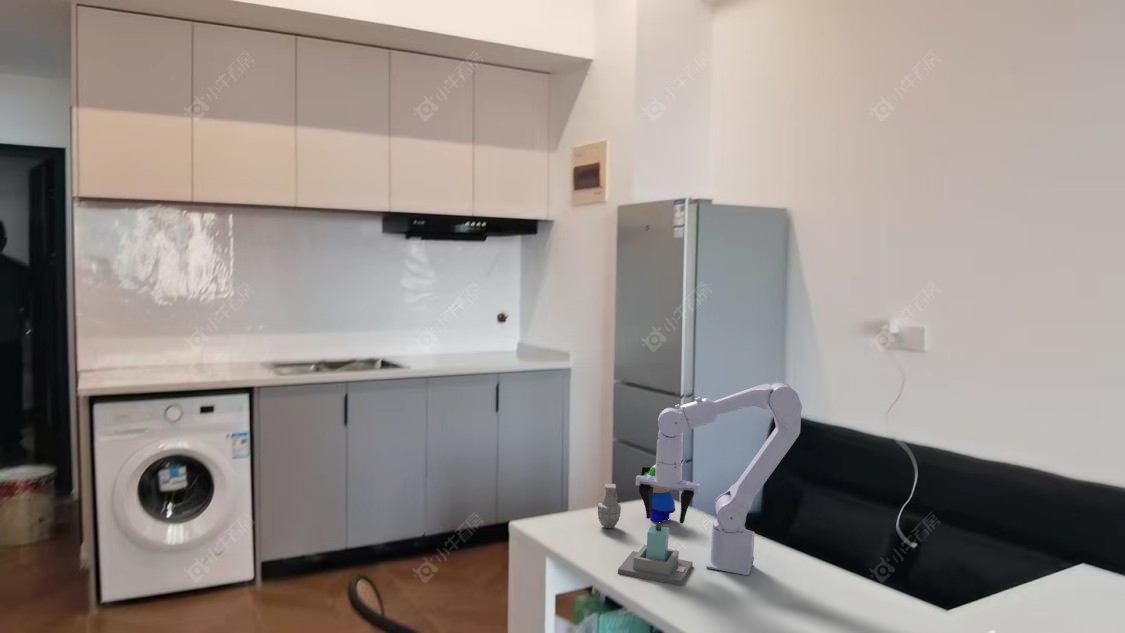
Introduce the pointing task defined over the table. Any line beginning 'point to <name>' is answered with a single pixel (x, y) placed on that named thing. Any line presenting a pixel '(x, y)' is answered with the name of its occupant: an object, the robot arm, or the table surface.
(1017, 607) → the table surface
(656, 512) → the toy
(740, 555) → the robot arm
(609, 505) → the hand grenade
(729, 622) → the table surface
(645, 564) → the socket block
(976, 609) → the table surface
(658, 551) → the plug
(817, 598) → the table surface
